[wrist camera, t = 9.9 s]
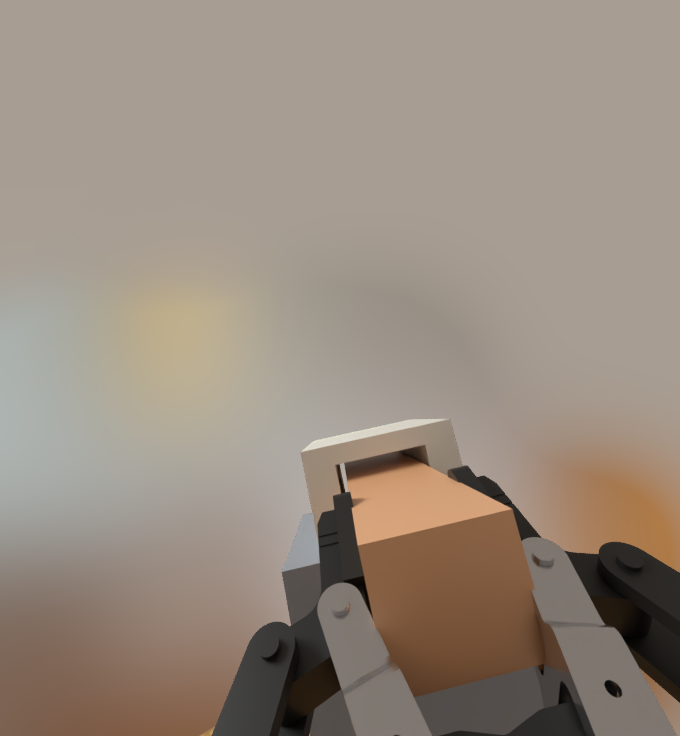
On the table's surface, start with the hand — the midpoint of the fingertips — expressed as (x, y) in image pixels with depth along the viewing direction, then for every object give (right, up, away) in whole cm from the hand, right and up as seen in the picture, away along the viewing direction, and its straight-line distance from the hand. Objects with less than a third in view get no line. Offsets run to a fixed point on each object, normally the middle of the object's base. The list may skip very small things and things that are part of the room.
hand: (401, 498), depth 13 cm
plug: (+1, -4, +5) cm, 6 cm away
